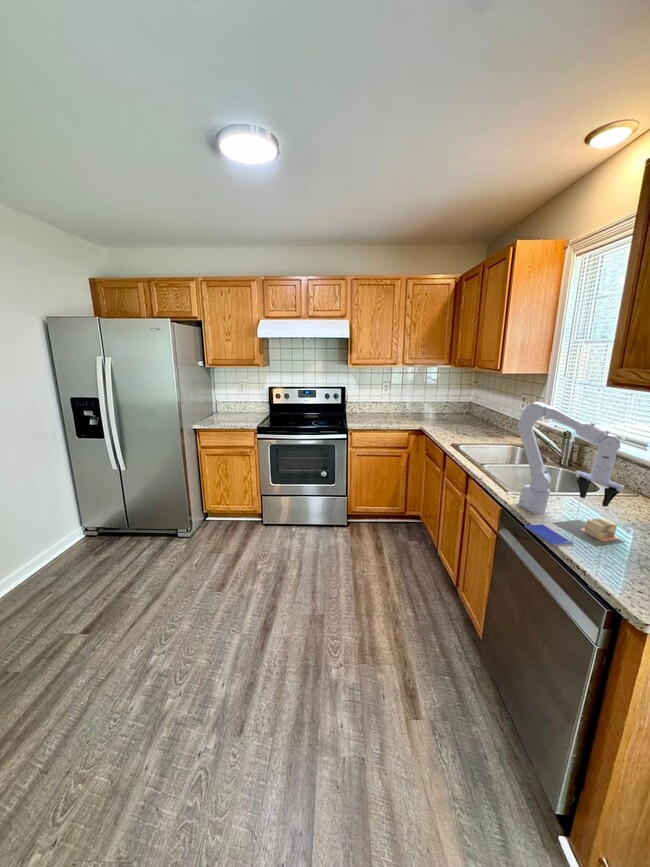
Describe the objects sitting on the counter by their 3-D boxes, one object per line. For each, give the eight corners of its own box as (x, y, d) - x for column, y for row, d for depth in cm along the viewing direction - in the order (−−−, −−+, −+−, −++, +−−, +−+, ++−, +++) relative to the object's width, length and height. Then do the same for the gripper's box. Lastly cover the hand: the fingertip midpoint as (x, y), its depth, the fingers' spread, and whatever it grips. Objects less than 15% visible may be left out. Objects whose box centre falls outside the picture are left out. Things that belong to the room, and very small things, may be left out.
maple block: (600, 529, 120) (603, 518, 119) (614, 535, 116) (617, 524, 115) (584, 531, 118) (587, 520, 117) (597, 538, 114) (600, 526, 113)
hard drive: (574, 542, 109) (543, 524, 121) (553, 544, 108) (524, 525, 120) (573, 547, 110) (542, 528, 122) (552, 548, 108) (523, 529, 120)
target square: (579, 529, 120) (579, 528, 120) (595, 527, 122) (595, 527, 122) (602, 541, 112) (602, 540, 112) (619, 539, 115) (619, 538, 115)
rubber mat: (551, 523, 124) (551, 522, 124) (579, 520, 128) (579, 519, 128) (595, 547, 109) (595, 546, 109) (625, 543, 113) (625, 542, 113)
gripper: (574, 461, 125) (566, 494, 128) (619, 474, 112) (608, 511, 115) (586, 460, 127) (578, 492, 130) (631, 473, 114) (621, 509, 117)
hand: (593, 501), depth 123 cm, fingers open, 7 cm apart
